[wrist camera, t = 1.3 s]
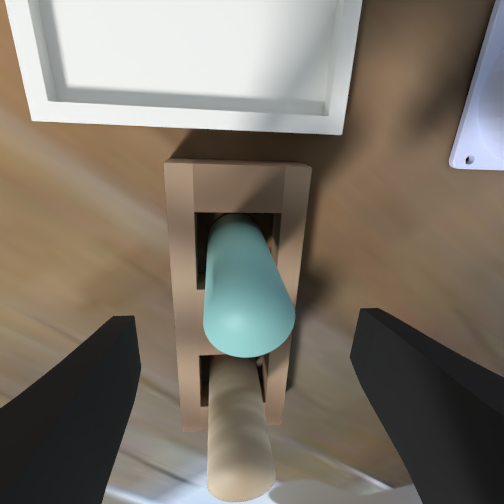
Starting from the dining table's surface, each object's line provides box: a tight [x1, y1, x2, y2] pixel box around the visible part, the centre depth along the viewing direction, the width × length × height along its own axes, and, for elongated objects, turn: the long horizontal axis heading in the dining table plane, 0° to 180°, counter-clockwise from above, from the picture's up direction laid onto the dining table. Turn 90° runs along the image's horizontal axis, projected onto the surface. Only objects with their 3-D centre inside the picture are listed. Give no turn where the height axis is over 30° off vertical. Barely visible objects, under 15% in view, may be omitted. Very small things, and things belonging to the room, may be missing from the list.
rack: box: [164, 158, 312, 432], centre depth 18 cm, size 18×7×2 cm, turn 177°
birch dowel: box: [207, 354, 276, 502], centre depth 18 cm, size 3×3×8 cm
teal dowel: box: [203, 213, 295, 358], centre depth 14 cm, size 3×3×8 cm
